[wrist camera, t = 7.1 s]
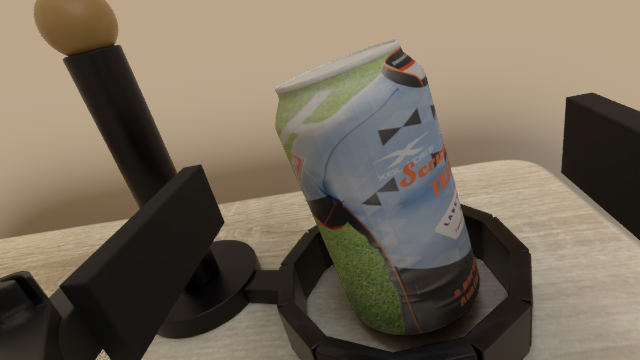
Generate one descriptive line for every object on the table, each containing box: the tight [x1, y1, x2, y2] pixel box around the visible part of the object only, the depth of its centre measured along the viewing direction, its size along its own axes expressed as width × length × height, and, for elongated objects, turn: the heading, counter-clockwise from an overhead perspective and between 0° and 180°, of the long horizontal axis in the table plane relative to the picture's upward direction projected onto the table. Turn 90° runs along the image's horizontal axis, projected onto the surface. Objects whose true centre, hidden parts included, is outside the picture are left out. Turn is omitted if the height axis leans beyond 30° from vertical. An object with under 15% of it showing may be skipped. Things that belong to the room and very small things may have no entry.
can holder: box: [34, 0, 533, 360], centre depth 15 cm, size 13×20×17 cm, turn 94°
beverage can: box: [275, 39, 480, 335], centre depth 15 cm, size 6×7×12 cm
